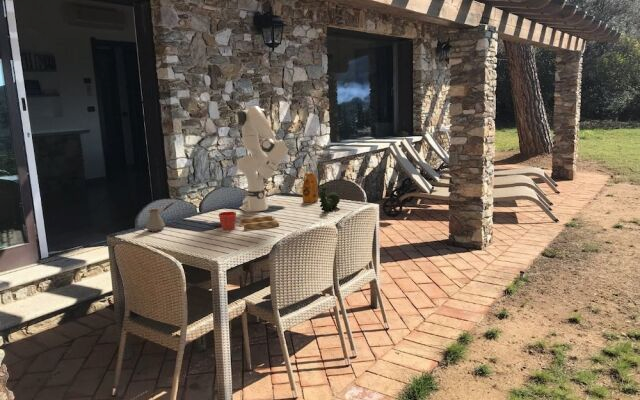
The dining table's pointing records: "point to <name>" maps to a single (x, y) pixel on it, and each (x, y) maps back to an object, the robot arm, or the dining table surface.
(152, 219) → the coffee pot
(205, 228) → the dining table surface
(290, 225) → the dining table surface
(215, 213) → the dining table surface
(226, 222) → the flower pot
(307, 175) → the coffee package
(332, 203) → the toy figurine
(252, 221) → the brown wooden u-shaped frame
